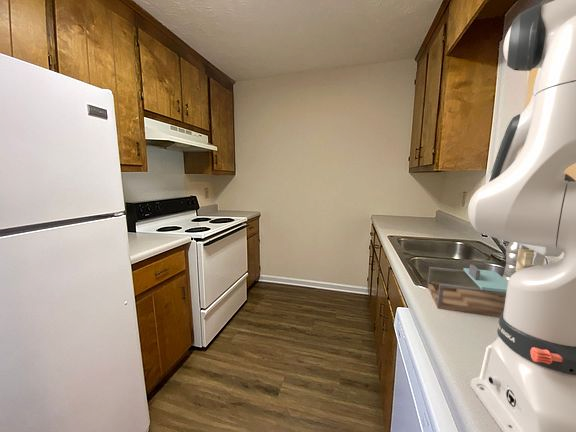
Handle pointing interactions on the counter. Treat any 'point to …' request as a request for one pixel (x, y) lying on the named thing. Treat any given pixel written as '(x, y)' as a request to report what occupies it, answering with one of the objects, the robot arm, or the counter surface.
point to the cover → (487, 279)
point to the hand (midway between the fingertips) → (529, 262)
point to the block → (525, 259)
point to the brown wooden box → (465, 297)
